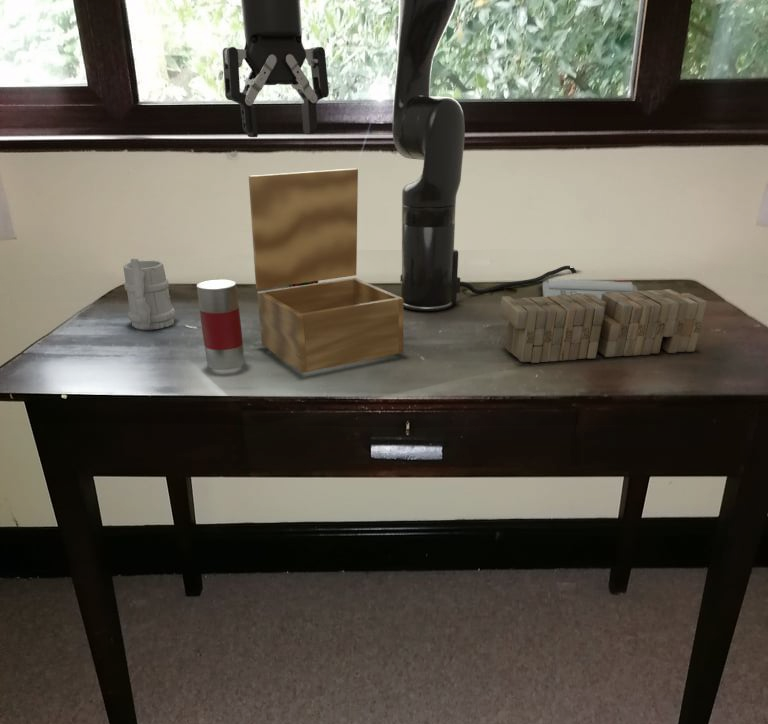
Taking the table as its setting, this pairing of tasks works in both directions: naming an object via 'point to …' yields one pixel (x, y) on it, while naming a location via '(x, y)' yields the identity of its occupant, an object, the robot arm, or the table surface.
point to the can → (221, 324)
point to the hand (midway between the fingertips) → (281, 135)
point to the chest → (331, 323)
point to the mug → (148, 295)
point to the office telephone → (585, 287)
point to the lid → (304, 226)
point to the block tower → (602, 324)
